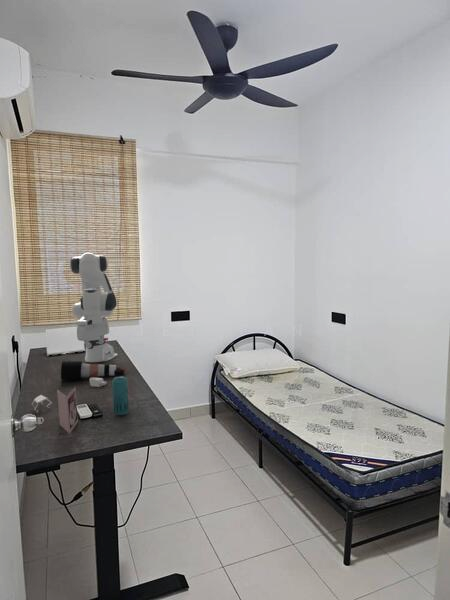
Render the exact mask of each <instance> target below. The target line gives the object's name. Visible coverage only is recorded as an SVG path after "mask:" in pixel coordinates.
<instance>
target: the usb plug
mask: <svg viewBox="0 0 450 600" xmlns="http://www.w3.org/2000/svg"><path fill="white" fill-rule="evenodd" d="M107 384H108V382H107V381H104V378H102V377H89V386H90V387H96V388H100V387H102V386H106V385H107Z"/></svg>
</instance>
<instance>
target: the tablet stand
mask: <svg viewBox="0 0 450 600" xmlns="http://www.w3.org/2000/svg"><path fill="white" fill-rule="evenodd" d="M77 327H78V326H70V327H60V328H48V329H45V342H46V343H45V344H46V345H45V346H46V356H47V357H50V356H49V355H52V356H59V355H58V354H61V355H67V354H66V353H69V354H76V353H75V352H78V353H84V352H83V351H85V352H86V348H85V343H84V341H80V340H78V339H77Z"/></svg>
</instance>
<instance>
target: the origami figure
mask: <svg viewBox="0 0 450 600" xmlns="http://www.w3.org/2000/svg"><path fill="white" fill-rule="evenodd" d="M43 401H47V402H49V403H47V405H46V407H47V408H49V409H50V408H51V407H49V406H50V405H51V404H53V402H52V401H51V400H50V399H49V397H46V396H45V395H42V394H40V395H38V396H37V397H34V399H33V401H32V403H31V405H32V406H33V408H34V411H36V414H37V413H39V410H38V409H37V408H38V405H39V404H40V403H41V405H45V404H44V403H43ZM34 403H35V404H36V406H34V405H35V404H34Z"/></svg>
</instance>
